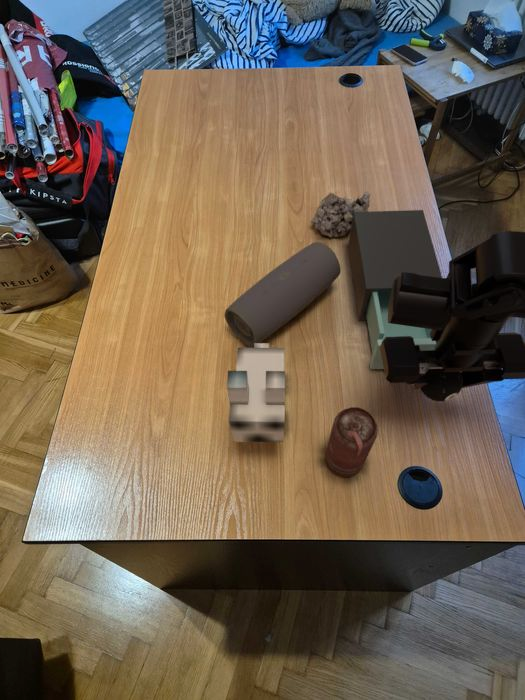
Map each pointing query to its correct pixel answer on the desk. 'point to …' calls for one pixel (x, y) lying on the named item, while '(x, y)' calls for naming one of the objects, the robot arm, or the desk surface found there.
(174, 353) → the desk surface
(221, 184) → the desk surface
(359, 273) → the drawer box
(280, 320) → the bluetooth speaker
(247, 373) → the toy llama
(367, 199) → the mineral specimen
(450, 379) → the billiard ball
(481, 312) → the robot arm
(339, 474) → the can
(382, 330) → the mint green drawer
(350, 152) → the desk surface
